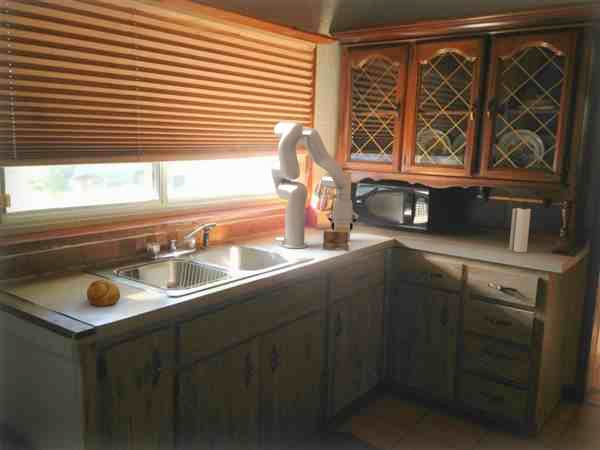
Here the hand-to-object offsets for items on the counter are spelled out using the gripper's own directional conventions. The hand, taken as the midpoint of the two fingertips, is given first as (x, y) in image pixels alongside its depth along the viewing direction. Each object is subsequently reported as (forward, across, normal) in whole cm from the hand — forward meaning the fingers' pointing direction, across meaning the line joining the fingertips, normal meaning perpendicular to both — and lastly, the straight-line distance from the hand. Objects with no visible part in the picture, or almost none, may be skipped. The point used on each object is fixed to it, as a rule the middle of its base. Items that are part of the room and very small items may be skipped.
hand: (341, 230), depth 280 cm
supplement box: (+5, 0, 0) cm, 5 cm away
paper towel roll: (+6, +87, -11) cm, 88 cm away
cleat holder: (+5, -3, -19) cm, 20 cm away
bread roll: (+5, -77, -116) cm, 139 cm away
